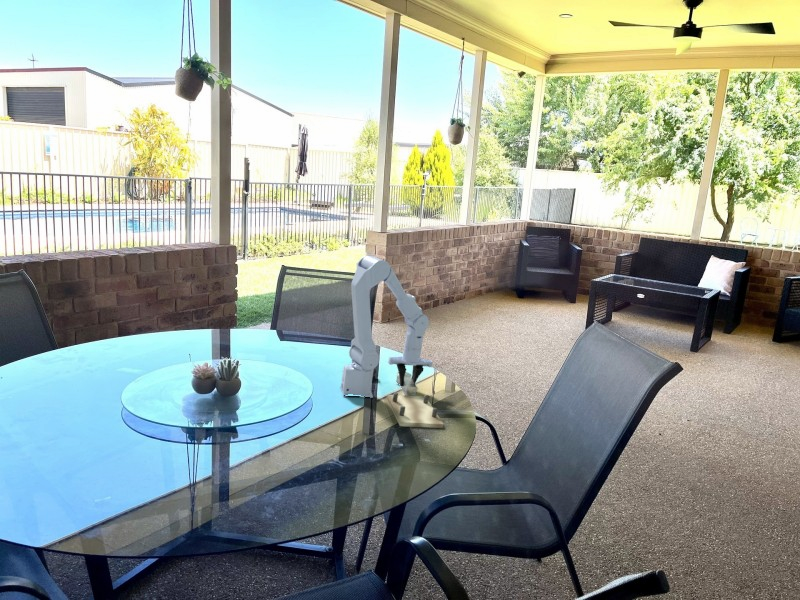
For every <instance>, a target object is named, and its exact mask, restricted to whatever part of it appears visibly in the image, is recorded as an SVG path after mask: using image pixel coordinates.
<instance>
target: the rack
mask: <svg viewBox="0 0 800 600" xmlns="http://www.w3.org/2000/svg"><path fill="white" fill-rule="evenodd" d="M429 398H430V395H429V394H424V396H419V395H416V396H405V395H402V394H401V395H399V393H397V392H393V394H386V400H387V403H388V404H389V407H390V408H391V411H392V413H393V414H394V415H393V416H394V417H395V419H396V421H397V423H398V426H399V427H411V428H415V427H416V428H431V429H432V428H434V429H437V428H438V429H443V428H444V426H445V425H444V422H443V421H442V419H441V418H440V416H439V415H438V411H439V410H438V408H437V407H433V406H432V405H433V404H431V403H430V401H429Z"/></svg>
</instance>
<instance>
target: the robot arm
mask: <svg viewBox="0 0 800 600" xmlns="http://www.w3.org/2000/svg"><path fill="white" fill-rule="evenodd" d="M381 282H384V284H385V285H386V286H387V288H388V289H389V290H390V292H391V293H392V294H393V295H394V297H395V298H396V302H395V305H396V306H397V308H398V310H399V311H400V313H401V314H402V316H403V318H404V323H405V324H406V325H407V327H406V332H405V333H406V334H405V340H404V347H403V352H402V356H392V357H391V356H389V358H388V361H387V363H388V364H389V365H396V366H397V367H396V368H397V370H398V372H399V378H400V385H401V386H403V384H404V376H405V372H407V368H406V366H412V373H411V379H412V380H413V382H414V383H415V384H416V382H417V380H418V378H419V377H420V375H421V374H422V373H423V372H424V369H425V368H424V367H427V368H432V366H433V361H432V360H431V359H425V358H421V354H422V347H423V341H424V336H425V334H426V331H427V329H428V328H429V327H430V321H429V317H428V315H426V314H424V313H423V309H422V307H420V306H419V305H418V303H417V302H416V300H417V299H416V297H415V296H414V295H412V294H410V293H406V291H405V290H404V288H403V286H402V284H401V283H400V280H399V279H398V277H397V275H396V273H395V270H394V268H393V267H392V266H391V265H390V263H389V262H388V261H386V260H384V259H380V258H378V257H377V256H374V255H373V254H366V255H363V256H362V257H360V259H359V260H358V261H357V262H356V270H355V272H354V275H353V278H352V281H351V282H350V283H351V284H350V290H351V302H352V318H353V319H352V320H353V332H354V333H353V334H354V338H353V339H352V340H351V342H350V348H349V352H348V353H349V357H350V359H351V364H348V365H346V364H345V365H344V366H343V370H342V377H341V384H340V389H341V393H342V392H343V393H342V396H343V395H348V394H353V395H361V396H364V395H366V396H365V397H370V398H369V399H372V398H374V395H373V393H372V390H371V389H372V385H373V384H372V382H373V378H374V376H373V370H374V368H375V369H376V367H378V365H379V364H380V363H379V362H380V355H379V354H378V352H377V346H376V344H375V342H374V340H373V336H372V335H373V333H372V330H373V329H372V318H371V317H372V314H371V298H370V291H371V289H372V288H373V287H375V286H377V285H378V284H380V283H381ZM398 372H397V373H398ZM400 385H399V386H400ZM365 397H364V398H365Z"/></svg>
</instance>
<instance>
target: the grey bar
mask: <svg viewBox="0 0 800 600" xmlns="http://www.w3.org/2000/svg"><path fill="white" fill-rule="evenodd" d="M411 378H412V373H410V372H408V371H406V372H405V376H404V384H403V386H401V385H399V387H400V386H401V387H400V389H401V388H402V389H401V391H402V392H403V394H404V396H417V395H416V394H417V389H418V387H417V384H416V383H414V382H413V380H412V379H411ZM396 382H397V383H398V384H400V378H399V372H397V375H396V380H395V383H396Z"/></svg>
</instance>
